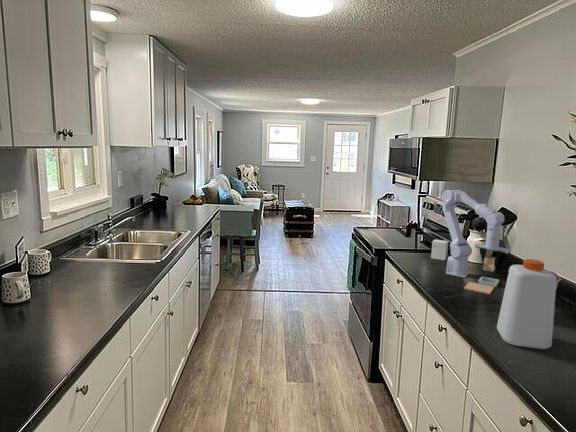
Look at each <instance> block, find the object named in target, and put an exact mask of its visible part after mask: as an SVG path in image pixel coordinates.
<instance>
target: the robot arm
mask: <svg viewBox="0 0 576 432" xmlns="http://www.w3.org/2000/svg"><path fill="white" fill-rule="evenodd" d="M441 199H442V206H441V207H442V212H443V214H444V218H445V222H446V224H447V228H448V232H449V234H450V238H451V242H450V244H449V247H450V255H449V256H447V263H446V269H445V271H446V272H445V274H446V275H449V276H455V277H461V278H466V277H467V276H468V275H469V273H468V272H467V270H468V263H469V256H471V255H472V253H473V250H472V247H471V245H469V242H468V240H466V239H465V238H464V235H463V232H462V229H461V226H460V222H459V220H458V217H457V214H456V211H455V208H456V207H457V206H458V205H459V204H460V203H463V204H465V205H466V206H468V207H470V208H471V209H473V210H474V213H475V214H476V215H478V216H479V217H480V218H483V219H484V220H485V222H486V223H487V225H486V227H487V230H486V237H485V244H480V243H475V245H474V249H477V250H478V249H479V254H480V256H481V261H482V263H481V264H482V265H484V258H485V257H486V256H487V251H491V252H495V256H494V257H495V264H494V267H495V268H496V267H497V265H498V263H499V260H500V258H501V256H502V255H503V254H509V252H510V248H505V247H502V246H499V245H500V238H501V230H502V224H504V222H505V220H506V219H505V215H504V214H503V213H502V212H501V211H496V209H493V208H491V207H489V205H488V204H487V203H478V201H476V200H475V199H473V198H472V197H470V196H469V195H468V194H467V193H466V192H465V191H463V190H461V189H446V190H445V191H444V192H443V193H442V195H441Z"/></svg>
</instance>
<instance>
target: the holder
mask: <svg viewBox="0 0 576 432" xmlns="http://www.w3.org/2000/svg"><path fill="white" fill-rule="evenodd" d="M477 283H478V284H483V285H487V286H492V287H494V288H497V286H499V285H498V284H500V279H497V278H493V277H487V276H480V277H479V279H478V281H477Z"/></svg>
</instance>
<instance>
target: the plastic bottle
mask: <svg viewBox="0 0 576 432" xmlns="http://www.w3.org/2000/svg"><path fill="white" fill-rule="evenodd" d="M522 263H523V264H512V265H510V266H509V268H508V270H509V271H508V274H507V279H506V283H505V287H504V293H503V297H502V302H501V306H500V310H499V314H498V319H497V325H496V330H497V331H498V333H499V335H500V336H501V339H502V340H503V341H504V342H506V343H507V344H510V345H512V346H516V347H522V348H523V347H524V348H530V349H538V350H547V349H549V348H551V347H552V345H553V334H554V320H555V319H554V317H555V306H556V304H555V303H556V294H557V293H556V291H557V289H556V276H555V275H554V274H553V273H551V272H550V271H551V270H550V271H549V269H547V268H546V267H545V263H544V262H543V261H541V260H537V259H533V258H532V259H531V258H526V259H524V260H523V261H522Z"/></svg>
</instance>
